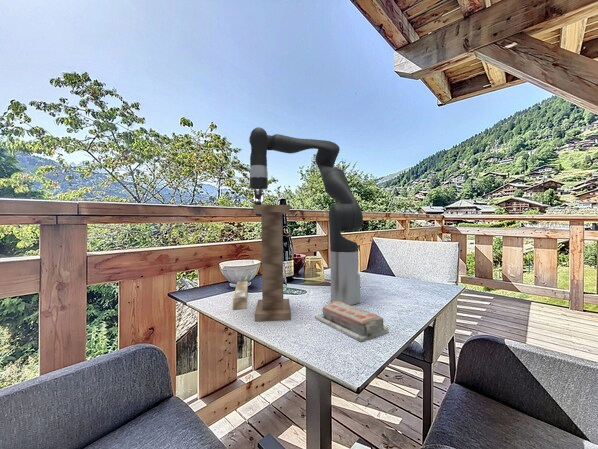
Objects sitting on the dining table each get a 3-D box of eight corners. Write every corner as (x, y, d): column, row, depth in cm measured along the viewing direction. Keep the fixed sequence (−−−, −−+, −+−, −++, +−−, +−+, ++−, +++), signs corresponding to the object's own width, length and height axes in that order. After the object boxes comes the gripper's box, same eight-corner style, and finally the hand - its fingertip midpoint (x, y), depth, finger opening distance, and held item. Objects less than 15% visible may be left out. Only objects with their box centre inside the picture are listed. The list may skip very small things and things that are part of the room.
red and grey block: (390, 314, 64) (360, 323, 59) (390, 334, 64) (361, 344, 59) (340, 297, 79) (314, 303, 74) (341, 313, 80) (314, 320, 74)
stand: (288, 304, 87) (287, 207, 87) (291, 320, 73) (289, 204, 73) (258, 305, 86) (257, 208, 86) (254, 321, 72) (253, 205, 72)
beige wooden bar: (247, 291, 107) (247, 280, 107) (246, 310, 83) (246, 297, 83) (237, 291, 106) (237, 281, 106) (233, 311, 82) (233, 297, 82)
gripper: (251, 180, 118) (251, 216, 118) (247, 174, 104) (248, 215, 104) (268, 180, 118) (268, 216, 118) (267, 174, 104) (267, 215, 104)
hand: (259, 216), depth 111 cm, fingers open, 8 cm apart
